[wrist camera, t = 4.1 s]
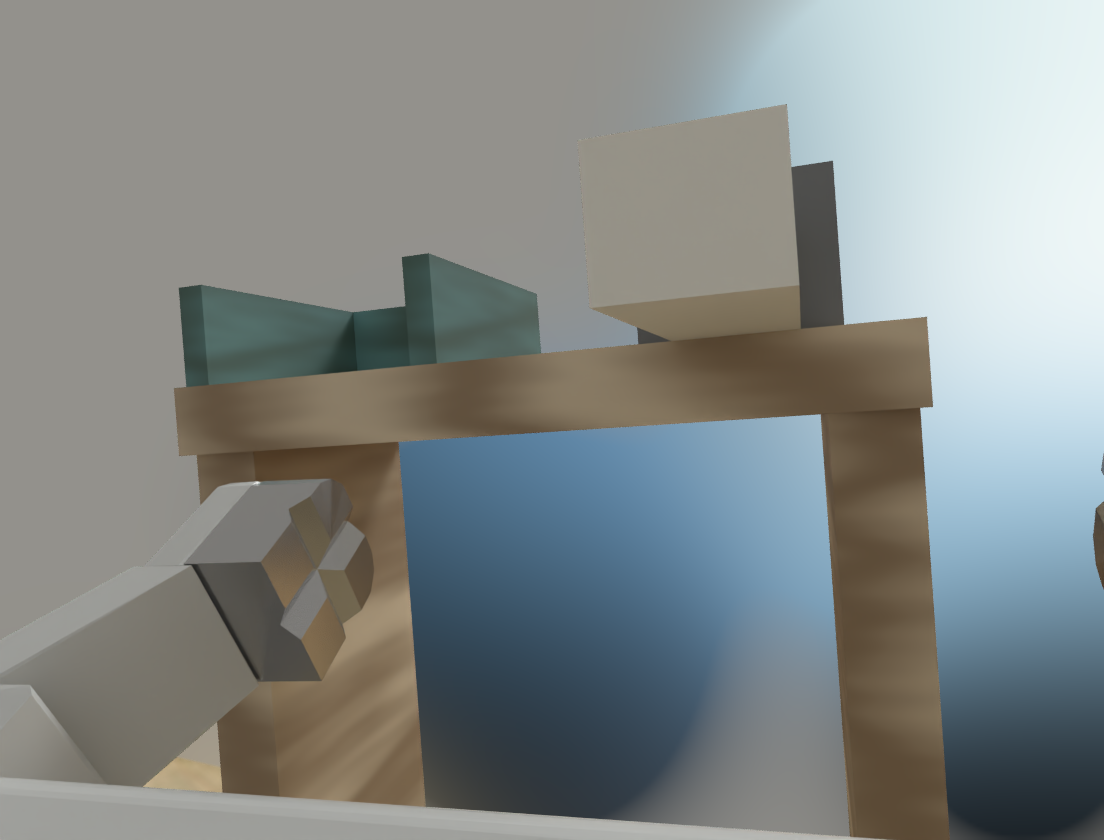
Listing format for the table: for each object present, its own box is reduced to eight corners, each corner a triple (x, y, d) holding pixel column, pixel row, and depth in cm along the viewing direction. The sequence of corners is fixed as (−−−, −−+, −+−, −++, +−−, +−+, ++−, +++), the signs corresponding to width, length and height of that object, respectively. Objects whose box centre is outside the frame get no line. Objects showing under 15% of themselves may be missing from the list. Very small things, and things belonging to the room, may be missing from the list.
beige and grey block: (876, 276, 11) (856, -21, 11) (526, 315, 13) (507, 52, 12) (833, 344, 26) (825, 220, 26) (678, 358, 28) (669, 240, 28)
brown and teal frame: (936, 1104, 28) (878, 254, 28) (1005, 1470, 18) (917, 181, 18) (398, 1016, 34) (346, 317, 34) (241, 1259, 24) (166, 286, 24)
